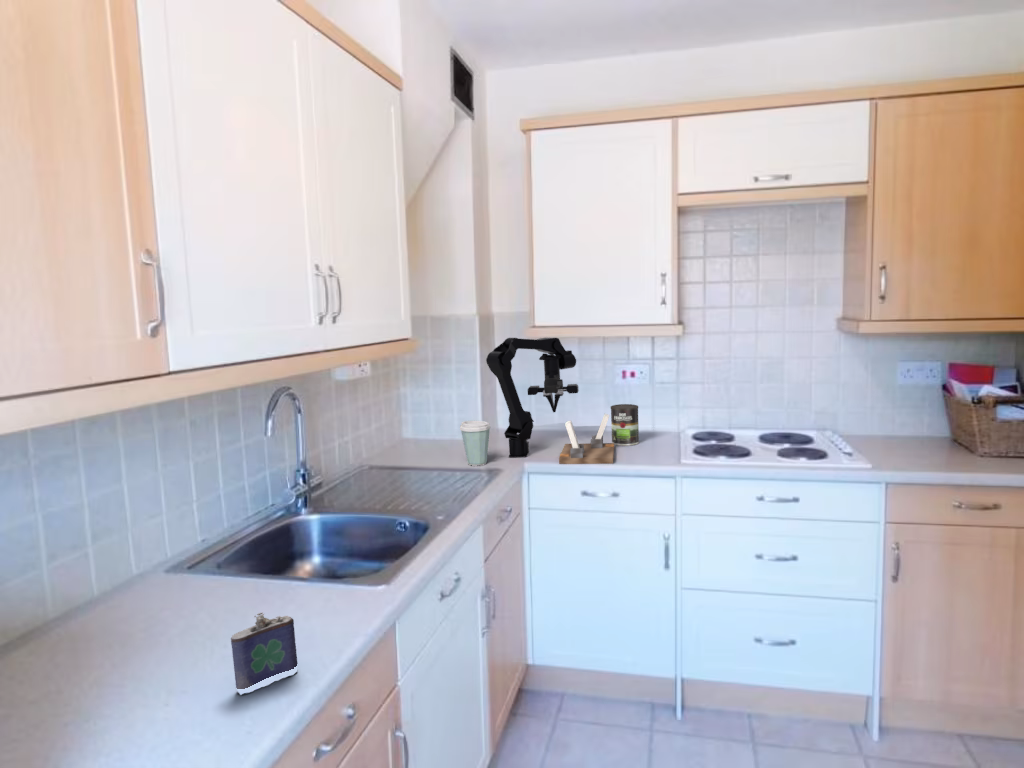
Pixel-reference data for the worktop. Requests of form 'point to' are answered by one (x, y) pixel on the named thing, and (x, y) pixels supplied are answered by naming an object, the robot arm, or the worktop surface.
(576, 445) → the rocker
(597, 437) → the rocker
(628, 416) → the coffee can
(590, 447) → the switch board
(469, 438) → the disposable coffee cup
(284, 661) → the flask
